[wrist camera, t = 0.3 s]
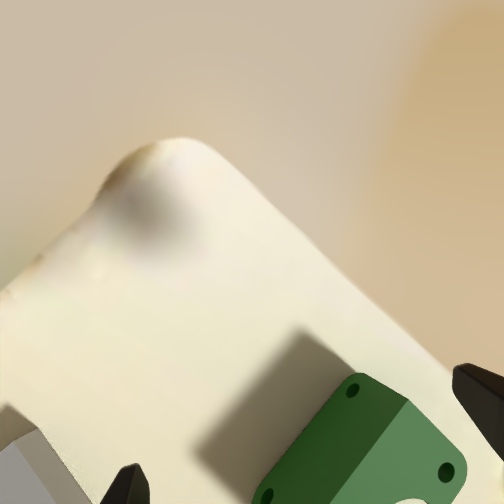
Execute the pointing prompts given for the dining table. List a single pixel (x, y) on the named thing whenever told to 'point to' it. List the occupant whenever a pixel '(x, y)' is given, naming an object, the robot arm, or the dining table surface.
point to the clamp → (366, 453)
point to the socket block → (36, 474)
